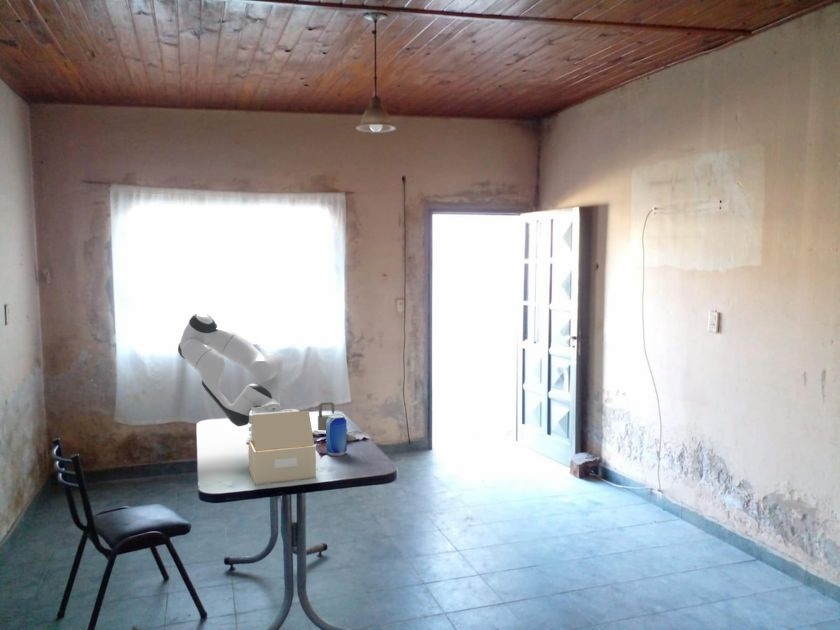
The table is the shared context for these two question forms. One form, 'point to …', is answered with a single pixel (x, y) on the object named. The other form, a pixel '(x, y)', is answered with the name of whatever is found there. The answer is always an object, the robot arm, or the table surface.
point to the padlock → (323, 418)
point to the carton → (282, 464)
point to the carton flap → (282, 430)
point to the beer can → (336, 435)
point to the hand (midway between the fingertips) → (277, 420)
